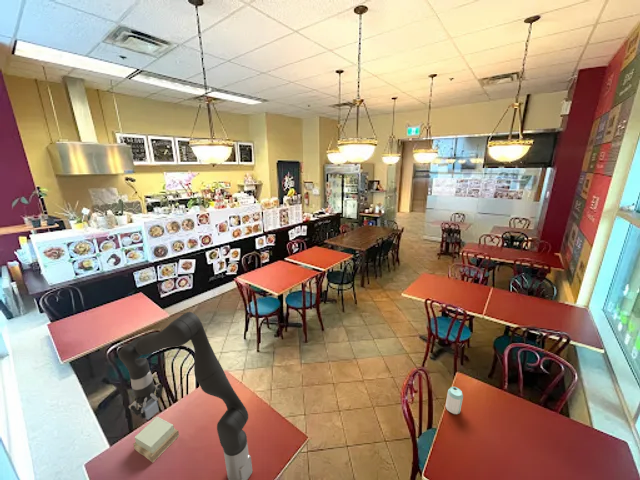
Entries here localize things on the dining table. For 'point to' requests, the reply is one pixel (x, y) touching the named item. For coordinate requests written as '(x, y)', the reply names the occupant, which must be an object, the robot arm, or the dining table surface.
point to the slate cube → (151, 408)
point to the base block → (160, 450)
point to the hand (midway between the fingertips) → (149, 412)
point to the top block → (154, 434)
